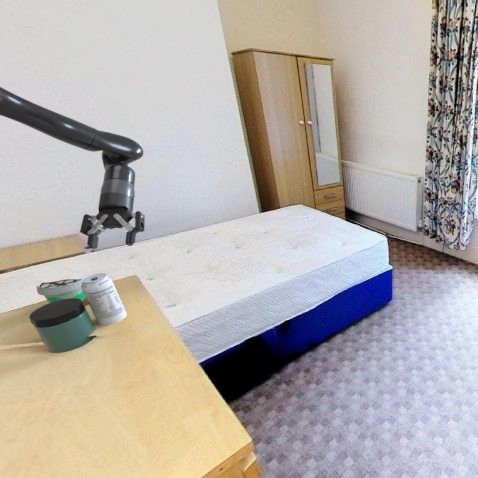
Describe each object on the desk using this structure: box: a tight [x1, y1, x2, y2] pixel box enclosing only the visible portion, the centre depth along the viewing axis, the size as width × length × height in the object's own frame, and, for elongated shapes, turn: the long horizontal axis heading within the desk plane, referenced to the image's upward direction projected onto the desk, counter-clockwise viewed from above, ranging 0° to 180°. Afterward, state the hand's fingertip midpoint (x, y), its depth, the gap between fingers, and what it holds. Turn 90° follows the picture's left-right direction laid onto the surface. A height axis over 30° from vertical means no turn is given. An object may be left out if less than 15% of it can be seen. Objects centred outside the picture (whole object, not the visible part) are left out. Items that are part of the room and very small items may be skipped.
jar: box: [33, 307, 96, 354], centre depth 83 cm, size 9×9×10 cm
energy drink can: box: [81, 272, 128, 326], centre depth 88 cm, size 6×6×15 cm
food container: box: [36, 275, 90, 307], centre depth 93 cm, size 12×6×10 cm, turn 106°
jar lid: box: [28, 298, 86, 327], centre depth 81 cm, size 9×9×2 cm
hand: (111, 246), depth 93 cm, fingers open, 8 cm apart
